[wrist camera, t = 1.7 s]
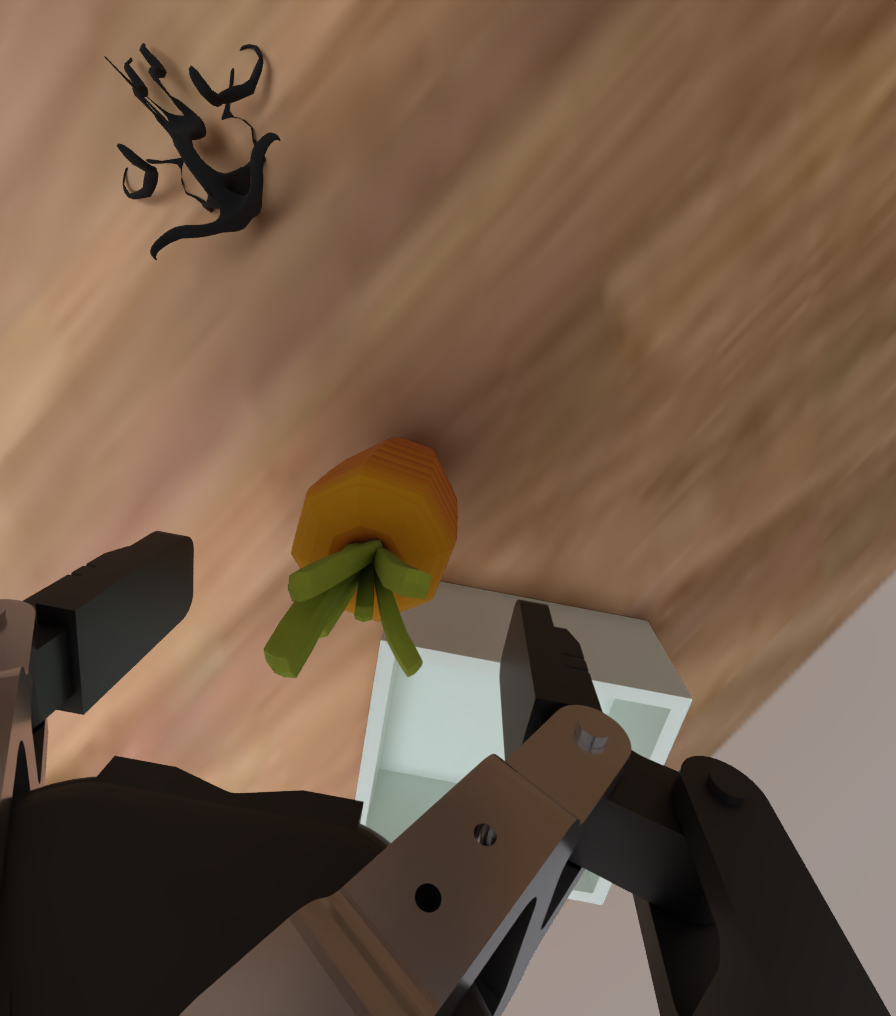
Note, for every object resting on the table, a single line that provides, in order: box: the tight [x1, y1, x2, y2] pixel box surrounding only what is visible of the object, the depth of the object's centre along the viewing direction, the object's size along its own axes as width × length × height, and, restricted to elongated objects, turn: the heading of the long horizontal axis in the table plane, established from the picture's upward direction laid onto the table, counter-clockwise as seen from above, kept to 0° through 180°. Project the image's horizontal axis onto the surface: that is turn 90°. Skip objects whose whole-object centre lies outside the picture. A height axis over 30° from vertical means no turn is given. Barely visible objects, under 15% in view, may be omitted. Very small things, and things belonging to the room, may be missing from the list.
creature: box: [104, 43, 281, 260], centre depth 18 cm, size 8×5×8 cm
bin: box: [355, 581, 693, 905], centre depth 26 cm, size 13×13×6 cm
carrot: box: [264, 438, 458, 678], centre depth 17 cm, size 5×5×15 cm
